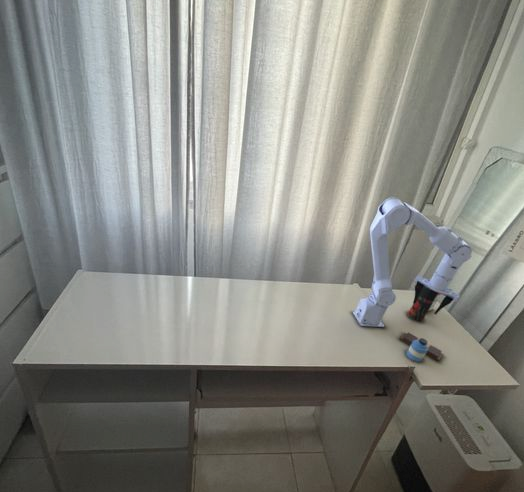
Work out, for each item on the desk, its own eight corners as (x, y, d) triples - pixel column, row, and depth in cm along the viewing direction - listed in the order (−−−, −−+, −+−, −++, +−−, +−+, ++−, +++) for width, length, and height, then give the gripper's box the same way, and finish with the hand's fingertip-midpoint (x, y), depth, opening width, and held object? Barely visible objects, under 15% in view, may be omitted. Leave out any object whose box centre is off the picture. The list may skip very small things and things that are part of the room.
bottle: (411, 361, 102) (421, 345, 99) (403, 350, 106) (412, 335, 103) (424, 361, 104) (434, 346, 100) (416, 351, 108) (425, 335, 104)
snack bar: (399, 339, 112) (401, 335, 111) (404, 334, 115) (406, 330, 114) (438, 361, 105) (440, 357, 104) (441, 355, 108) (444, 352, 107)
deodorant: (424, 323, 124) (443, 291, 115) (408, 319, 124) (426, 286, 116) (420, 314, 129) (438, 283, 120) (406, 310, 129) (423, 279, 121)
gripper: (469, 281, 105) (448, 314, 113) (426, 262, 112) (409, 294, 119) (464, 287, 100) (443, 321, 108) (420, 267, 107) (402, 300, 114)
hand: (425, 307), depth 113 cm, fingers open, 7 cm apart
